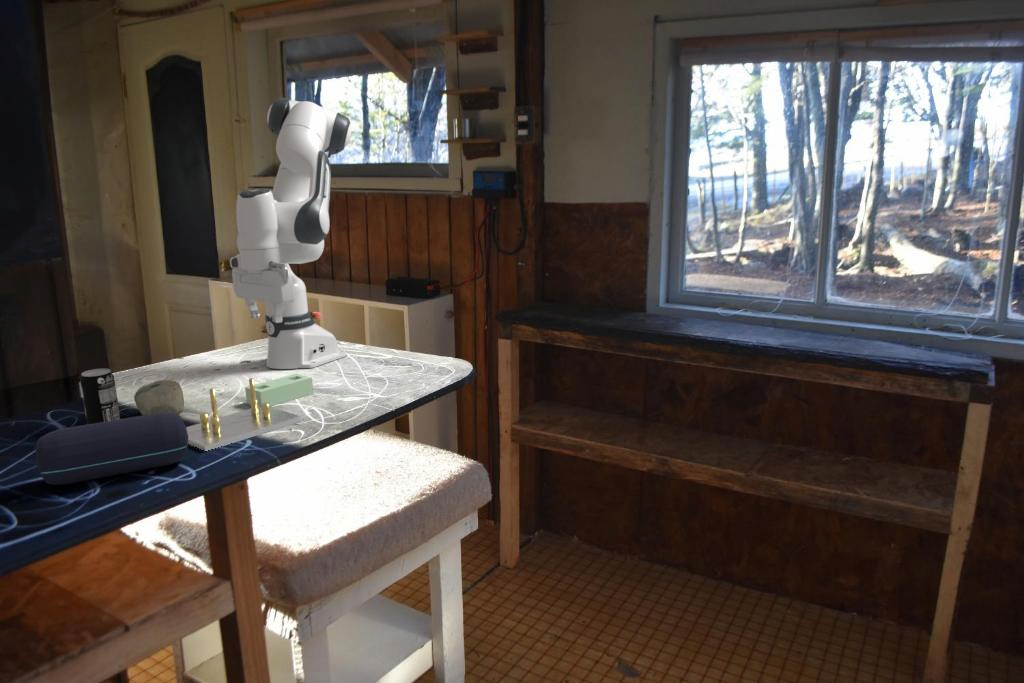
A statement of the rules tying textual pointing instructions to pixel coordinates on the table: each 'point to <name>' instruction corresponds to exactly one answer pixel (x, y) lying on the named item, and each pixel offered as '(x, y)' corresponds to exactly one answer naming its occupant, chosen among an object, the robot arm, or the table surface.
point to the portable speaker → (111, 448)
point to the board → (281, 389)
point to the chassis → (237, 423)
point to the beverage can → (99, 396)
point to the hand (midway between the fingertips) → (266, 320)
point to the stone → (160, 398)
